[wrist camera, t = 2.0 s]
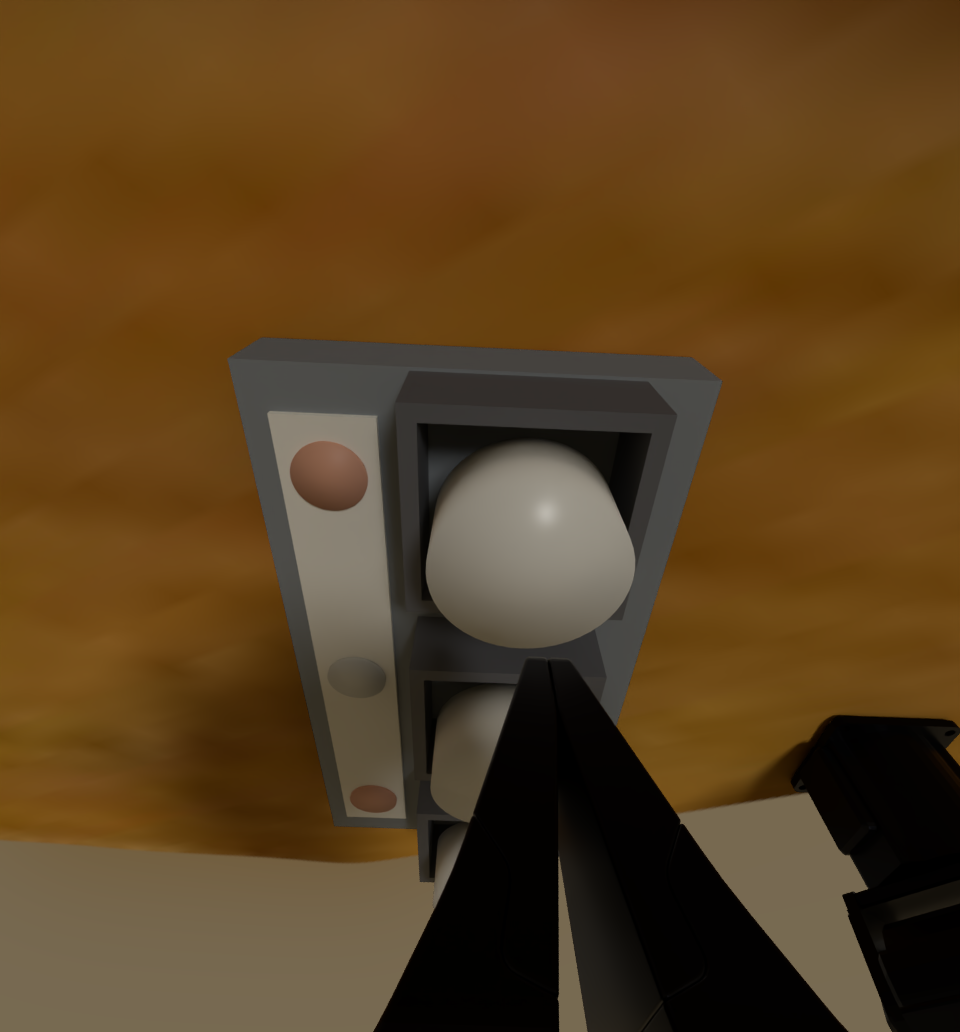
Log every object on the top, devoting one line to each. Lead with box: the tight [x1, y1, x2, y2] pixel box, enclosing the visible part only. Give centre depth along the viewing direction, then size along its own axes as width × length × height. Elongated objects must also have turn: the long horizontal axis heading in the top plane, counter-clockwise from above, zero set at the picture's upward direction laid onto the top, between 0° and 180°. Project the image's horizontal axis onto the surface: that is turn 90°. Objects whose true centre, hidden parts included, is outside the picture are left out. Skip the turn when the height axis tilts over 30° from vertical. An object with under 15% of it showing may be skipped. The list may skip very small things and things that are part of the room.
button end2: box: [433, 821, 469, 909], centre depth 23 cm, size 5×5×2 cm
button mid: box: [430, 683, 517, 823], centre depth 18 cm, size 5×5×2 cm
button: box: [426, 437, 635, 648], centre depth 13 cm, size 5×5×2 cm
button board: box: [228, 338, 722, 882], centre depth 21 cm, size 14×26×5 cm, turn 178°
